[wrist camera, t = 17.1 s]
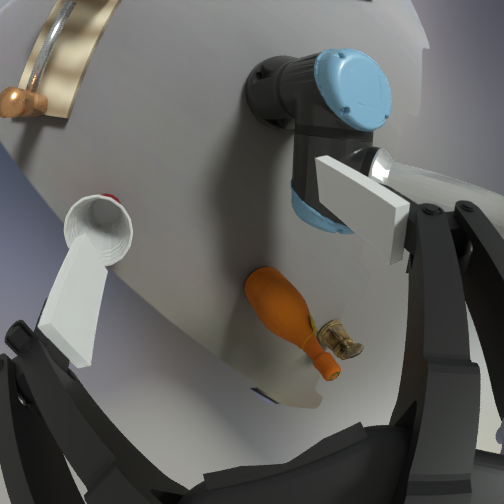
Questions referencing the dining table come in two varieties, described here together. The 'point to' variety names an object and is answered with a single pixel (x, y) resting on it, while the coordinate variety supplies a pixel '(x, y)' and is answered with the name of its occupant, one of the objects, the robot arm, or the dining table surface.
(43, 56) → the copper cylinder with rod
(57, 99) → the copper canister stand
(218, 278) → the dining table surface
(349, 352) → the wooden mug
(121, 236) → the plastic cup
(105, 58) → the dining table surface
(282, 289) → the wine bottle
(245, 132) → the dining table surface
